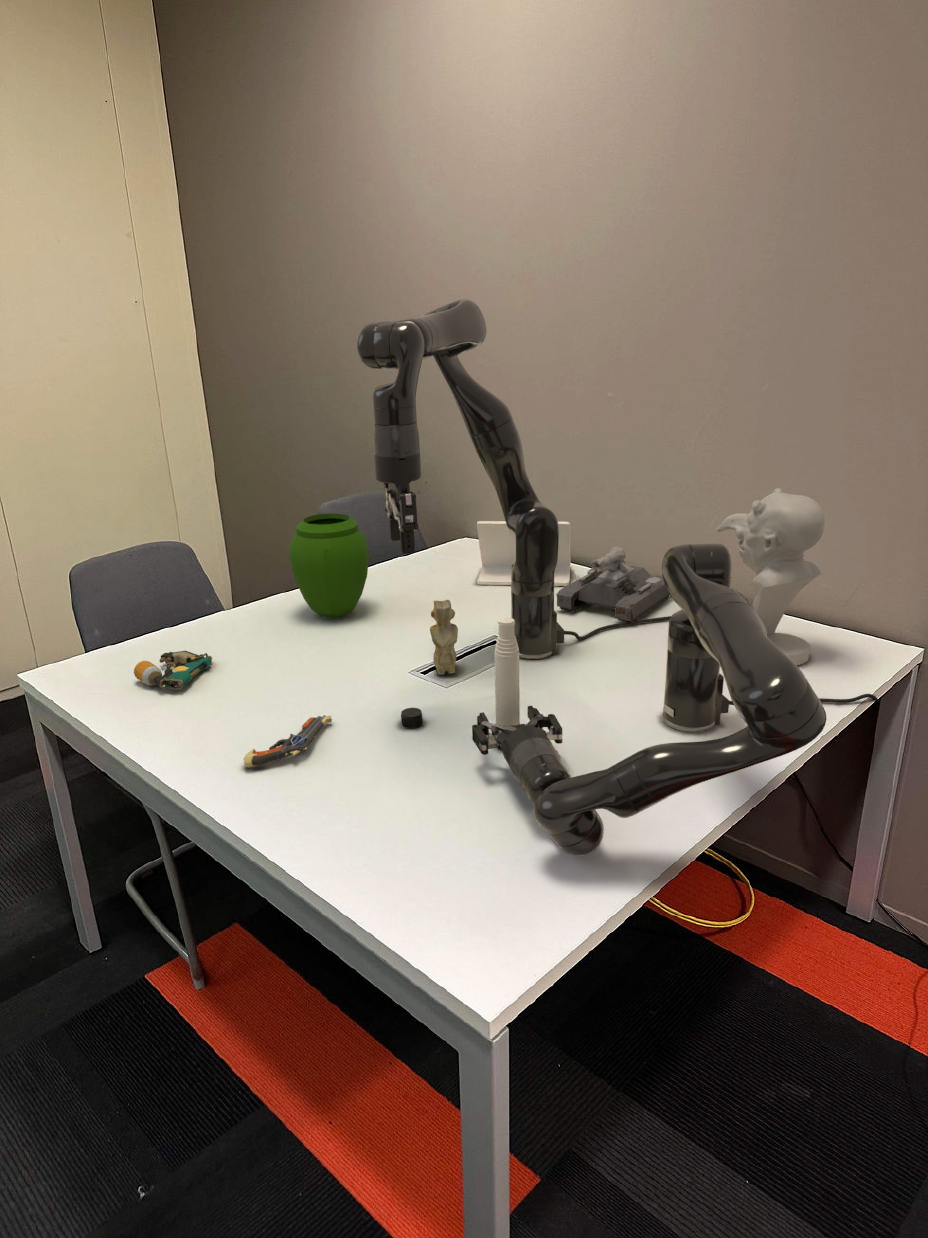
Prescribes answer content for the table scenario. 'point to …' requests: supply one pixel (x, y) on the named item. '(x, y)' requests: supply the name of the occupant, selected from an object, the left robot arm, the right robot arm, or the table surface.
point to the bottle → (507, 674)
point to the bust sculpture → (779, 558)
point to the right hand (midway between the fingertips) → (505, 713)
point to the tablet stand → (514, 553)
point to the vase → (329, 563)
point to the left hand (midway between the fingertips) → (402, 546)
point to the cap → (411, 718)
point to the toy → (615, 588)
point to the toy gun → (288, 743)
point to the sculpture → (444, 637)
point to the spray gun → (172, 669)
